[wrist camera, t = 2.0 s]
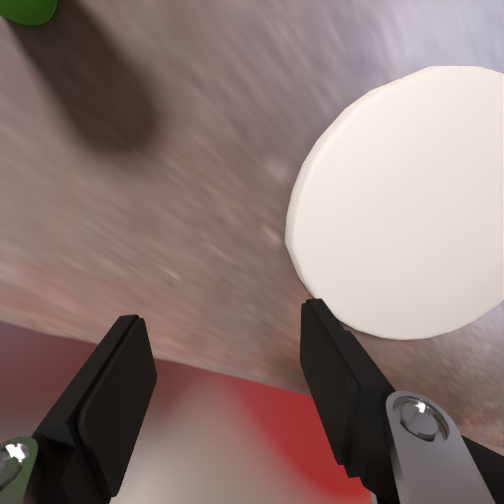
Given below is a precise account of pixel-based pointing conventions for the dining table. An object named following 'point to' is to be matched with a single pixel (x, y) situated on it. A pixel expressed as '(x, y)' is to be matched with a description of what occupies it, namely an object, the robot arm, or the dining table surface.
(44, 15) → the cup
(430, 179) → the plate
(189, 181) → the dining table surface
